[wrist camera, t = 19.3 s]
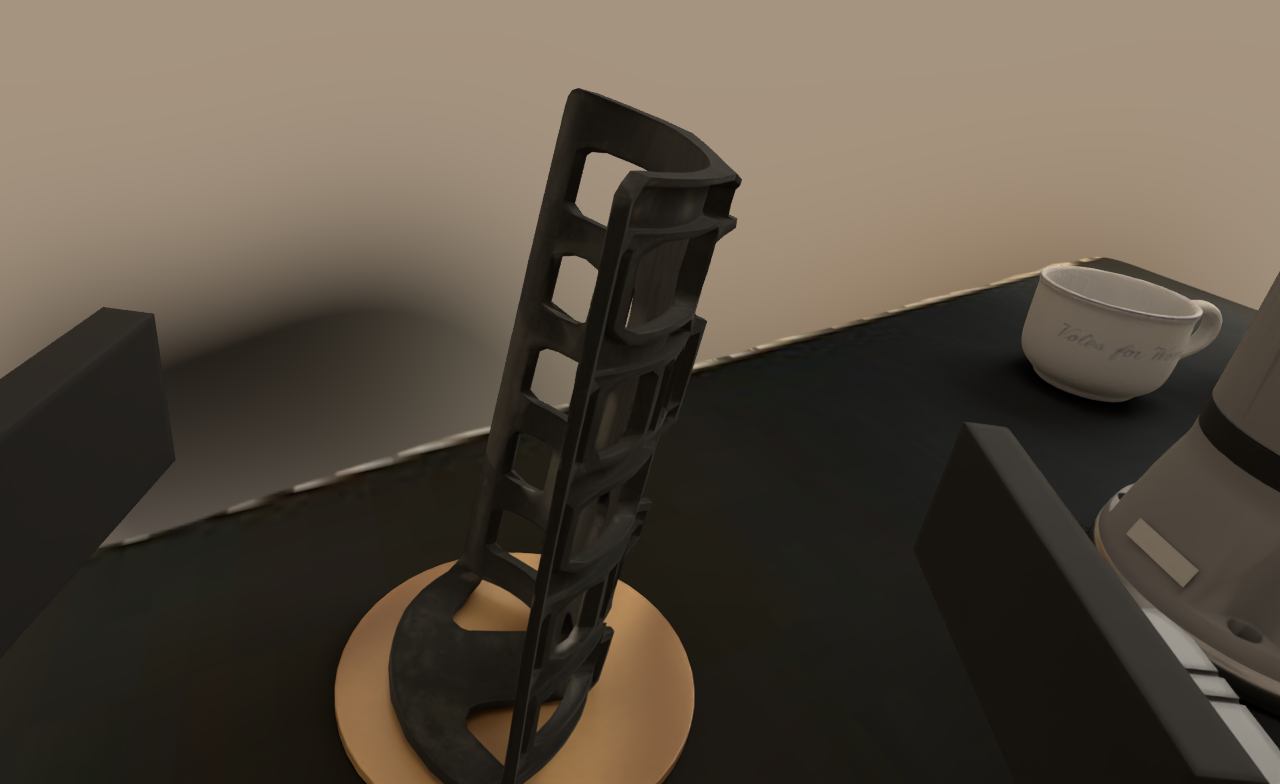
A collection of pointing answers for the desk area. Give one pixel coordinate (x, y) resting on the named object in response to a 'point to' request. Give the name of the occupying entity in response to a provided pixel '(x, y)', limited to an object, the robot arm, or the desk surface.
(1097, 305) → the teacup
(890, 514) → the desk surface
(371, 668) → the cork mat
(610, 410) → the holder
